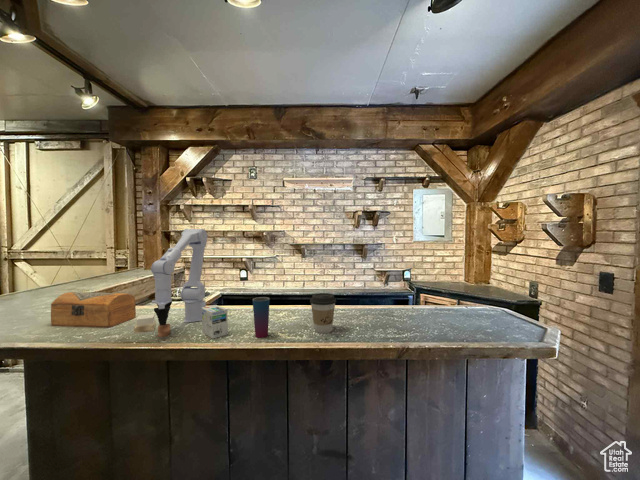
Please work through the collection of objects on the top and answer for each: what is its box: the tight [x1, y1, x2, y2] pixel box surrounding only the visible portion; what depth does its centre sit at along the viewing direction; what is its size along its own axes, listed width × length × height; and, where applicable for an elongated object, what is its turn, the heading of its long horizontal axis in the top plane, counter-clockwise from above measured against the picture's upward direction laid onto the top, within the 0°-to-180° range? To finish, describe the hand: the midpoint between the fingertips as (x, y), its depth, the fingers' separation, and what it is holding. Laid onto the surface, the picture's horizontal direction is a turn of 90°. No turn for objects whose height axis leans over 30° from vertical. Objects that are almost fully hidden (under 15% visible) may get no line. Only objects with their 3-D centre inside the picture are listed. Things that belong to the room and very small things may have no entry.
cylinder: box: [157, 323, 171, 338], centre depth 111 cm, size 4×4×4 cm
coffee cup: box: [309, 292, 337, 334], centre depth 114 cm, size 11×11×15 cm
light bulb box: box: [201, 304, 229, 340], centre depth 112 cm, size 11×7×11 cm, turn 45°
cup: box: [252, 296, 271, 339], centre depth 109 cm, size 7×7×15 cm
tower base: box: [133, 319, 157, 334], centre depth 117 cm, size 7×7×3 cm
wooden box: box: [50, 291, 137, 329], centre depth 128 cm, size 30×16×14 cm, turn 82°
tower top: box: [135, 313, 155, 327], centre depth 118 cm, size 6×6×3 cm
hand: (163, 322), depth 111 cm, fingers open, 7 cm apart
